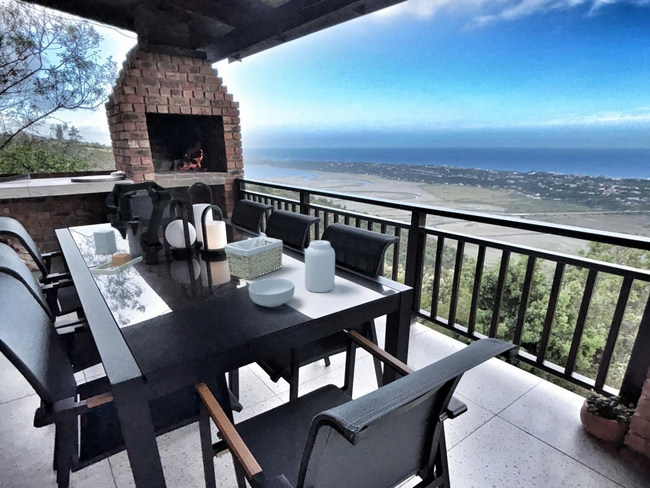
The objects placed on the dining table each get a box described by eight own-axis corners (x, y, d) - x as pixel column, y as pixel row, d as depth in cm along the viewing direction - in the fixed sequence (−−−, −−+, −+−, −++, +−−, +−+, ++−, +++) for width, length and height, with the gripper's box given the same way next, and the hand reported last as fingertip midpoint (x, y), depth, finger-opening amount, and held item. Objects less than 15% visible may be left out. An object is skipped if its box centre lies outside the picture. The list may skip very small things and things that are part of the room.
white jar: (308, 294, 134) (308, 246, 129) (302, 283, 146) (302, 239, 141) (338, 291, 137) (339, 244, 133) (329, 281, 149) (330, 237, 144)
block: (132, 263, 172) (130, 253, 170) (124, 266, 166) (123, 256, 165) (120, 262, 172) (119, 253, 171) (113, 266, 166) (111, 256, 165)
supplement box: (117, 251, 192) (114, 229, 189) (108, 254, 185) (105, 232, 182) (105, 250, 193) (102, 229, 190) (96, 254, 186) (92, 232, 183)
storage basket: (247, 282, 147) (246, 249, 143) (224, 274, 156) (222, 244, 153) (284, 268, 166) (284, 240, 162) (262, 262, 175) (261, 235, 171)
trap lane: (142, 259, 177) (142, 256, 176) (113, 274, 154) (113, 270, 153) (122, 259, 177) (122, 255, 177) (90, 273, 154) (89, 269, 154)
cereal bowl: (274, 291, 137) (273, 274, 135) (303, 302, 127) (303, 284, 125) (240, 304, 124) (239, 286, 123) (270, 317, 114) (269, 298, 112)
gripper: (121, 205, 180) (125, 233, 184) (97, 210, 162) (102, 241, 166) (141, 205, 180) (145, 234, 184) (120, 210, 162) (124, 241, 165)
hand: (129, 237), depth 175 cm, fingers open, 9 cm apart
